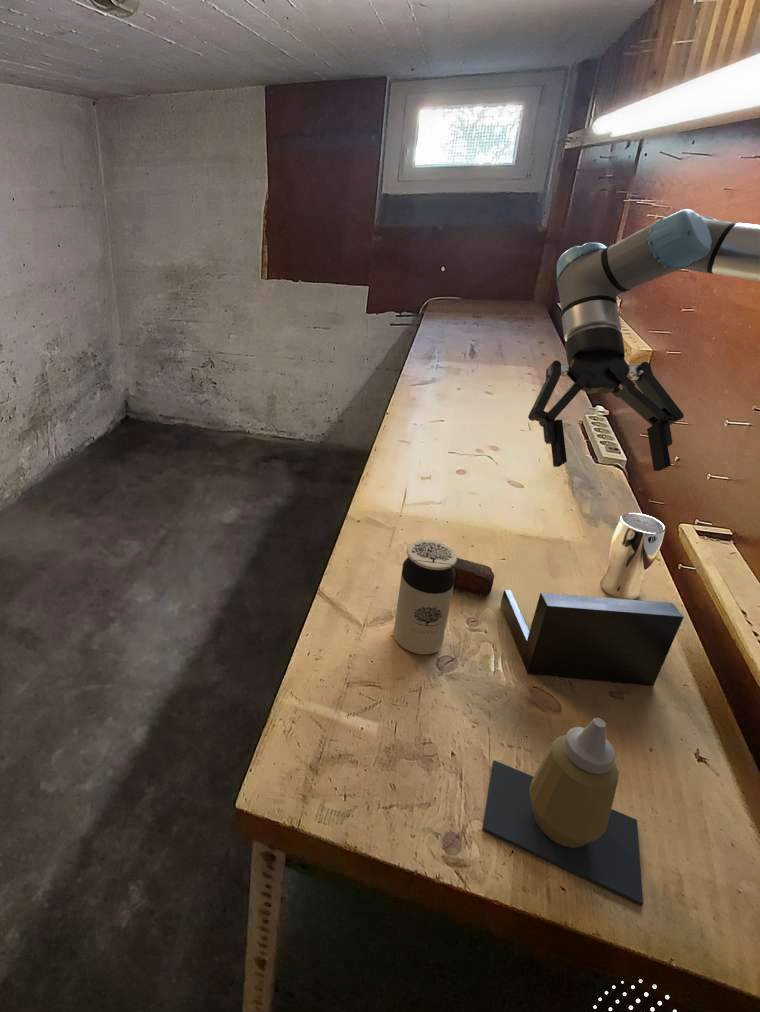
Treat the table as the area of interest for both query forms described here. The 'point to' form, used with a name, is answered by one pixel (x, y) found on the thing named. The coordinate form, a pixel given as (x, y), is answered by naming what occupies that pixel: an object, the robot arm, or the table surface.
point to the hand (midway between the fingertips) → (610, 466)
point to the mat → (596, 862)
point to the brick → (473, 577)
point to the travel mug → (424, 596)
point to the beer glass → (632, 554)
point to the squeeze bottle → (576, 786)
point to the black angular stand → (594, 637)
